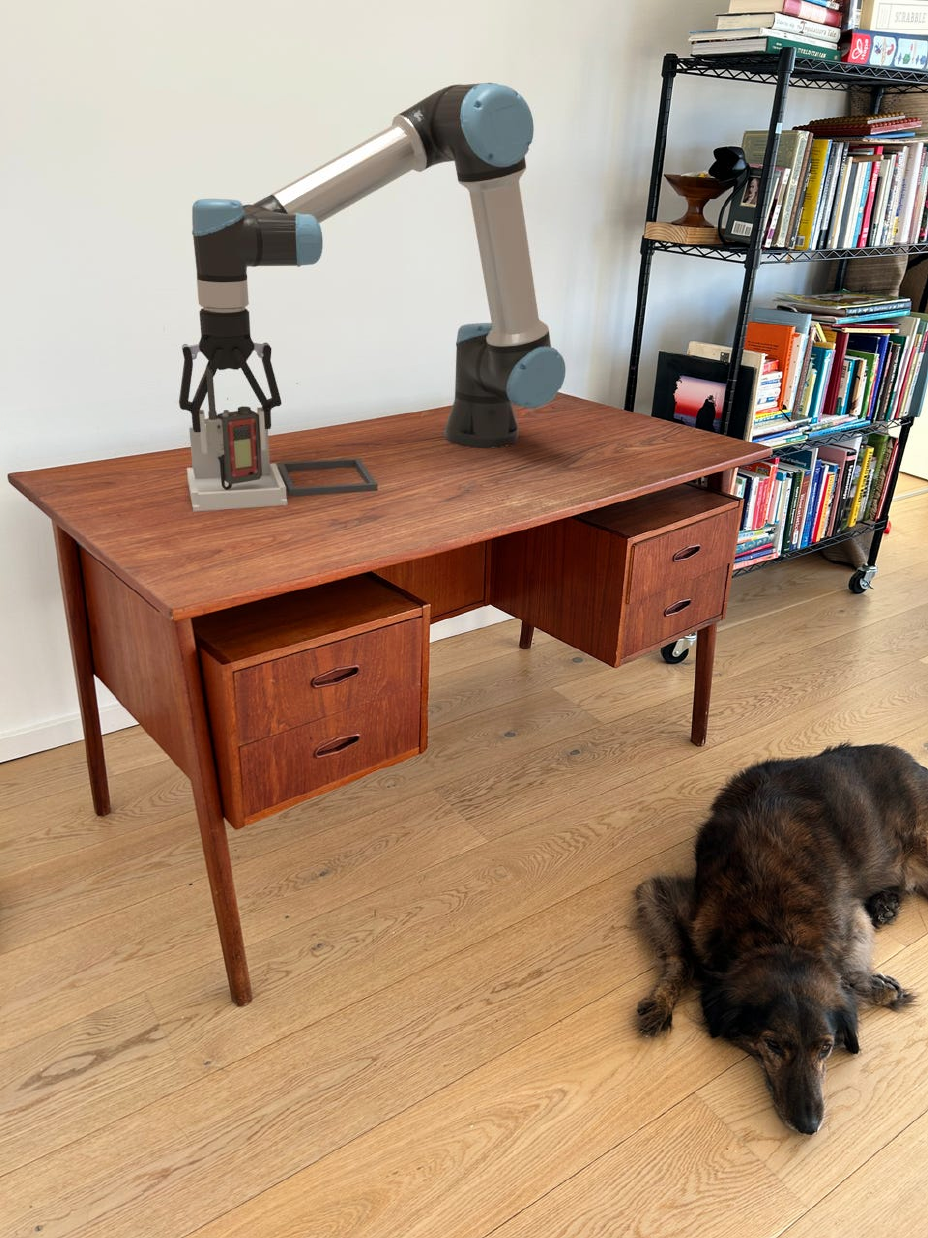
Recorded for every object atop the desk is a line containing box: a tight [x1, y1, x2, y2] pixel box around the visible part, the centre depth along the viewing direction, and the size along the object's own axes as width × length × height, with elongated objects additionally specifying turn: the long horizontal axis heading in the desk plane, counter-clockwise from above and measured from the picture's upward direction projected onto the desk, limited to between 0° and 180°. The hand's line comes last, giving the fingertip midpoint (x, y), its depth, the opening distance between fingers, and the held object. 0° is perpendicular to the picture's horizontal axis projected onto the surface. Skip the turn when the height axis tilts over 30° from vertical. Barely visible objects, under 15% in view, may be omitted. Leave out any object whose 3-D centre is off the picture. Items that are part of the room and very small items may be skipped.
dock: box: [186, 424, 288, 513], centre depth 161 cm, size 15×15×10 cm
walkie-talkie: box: [205, 369, 262, 490], centre depth 158 cm, size 9×4×20 cm, turn 127°
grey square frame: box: [277, 457, 378, 497], centre depth 171 cm, size 15×15×2 cm
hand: (233, 449), depth 160 cm, fingers closed on walkie-talkie, 9 cm apart
